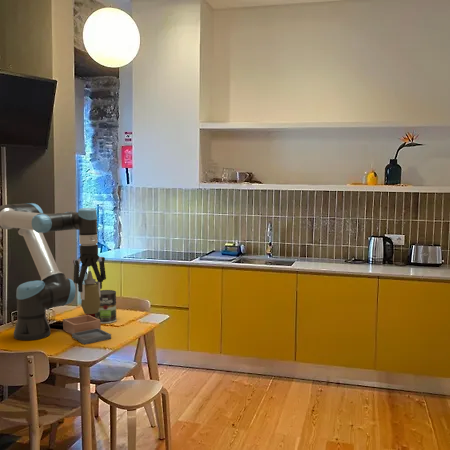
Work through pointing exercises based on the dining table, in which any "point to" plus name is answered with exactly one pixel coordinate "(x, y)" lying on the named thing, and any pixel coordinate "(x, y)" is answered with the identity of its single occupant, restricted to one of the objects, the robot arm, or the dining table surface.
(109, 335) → the tray
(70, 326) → the box
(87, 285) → the squeeze bottle
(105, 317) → the coffee can
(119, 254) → the dining table surface
